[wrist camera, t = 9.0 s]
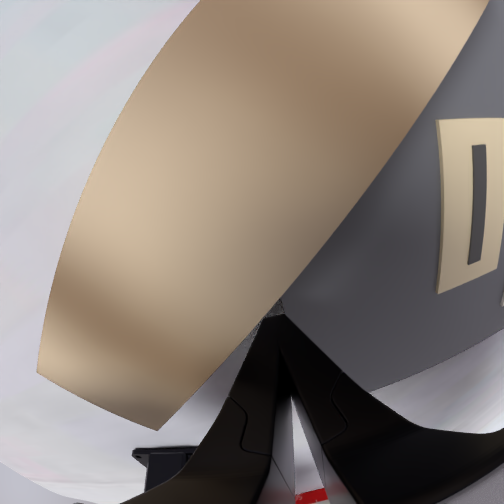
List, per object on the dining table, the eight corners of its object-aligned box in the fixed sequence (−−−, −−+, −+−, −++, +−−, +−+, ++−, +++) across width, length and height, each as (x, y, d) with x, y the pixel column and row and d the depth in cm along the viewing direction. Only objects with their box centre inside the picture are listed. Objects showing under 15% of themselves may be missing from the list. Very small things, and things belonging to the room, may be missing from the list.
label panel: (524, 301, 14) (534, 311, 12) (303, 396, 14) (307, 415, 13) (498, -46, 4) (511, -50, 2) (175, -88, 4) (171, -105, 3)
